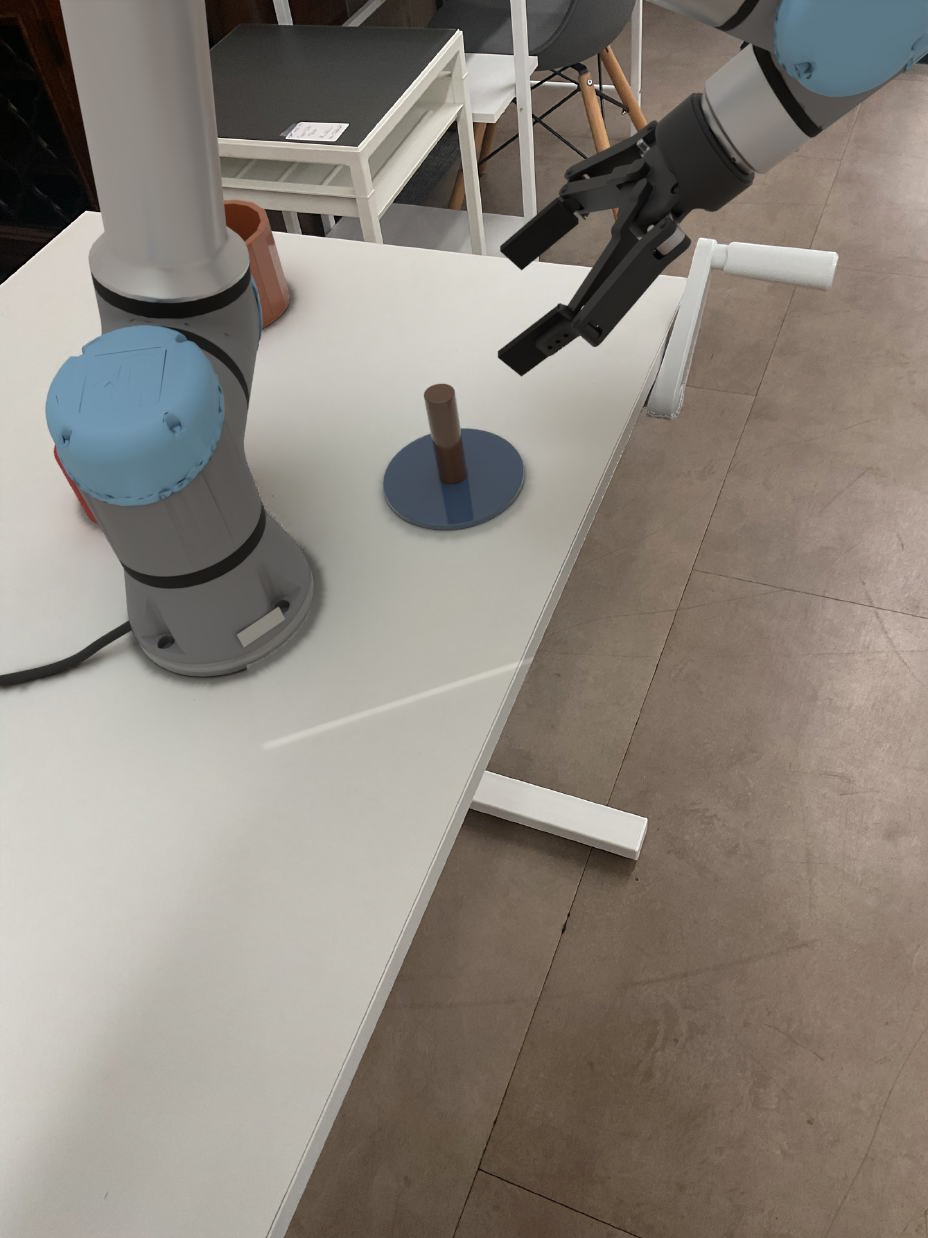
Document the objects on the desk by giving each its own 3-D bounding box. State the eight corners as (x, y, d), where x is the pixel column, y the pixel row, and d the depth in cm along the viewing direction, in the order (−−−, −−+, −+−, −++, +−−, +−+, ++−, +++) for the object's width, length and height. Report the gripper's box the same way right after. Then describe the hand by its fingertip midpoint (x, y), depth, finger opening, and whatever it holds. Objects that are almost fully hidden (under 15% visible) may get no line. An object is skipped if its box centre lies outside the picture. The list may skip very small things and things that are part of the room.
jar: (195, 349, 109) (164, 270, 102) (182, 294, 116) (153, 217, 109) (298, 320, 110) (276, 240, 103) (279, 267, 118) (257, 189, 110)
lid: (405, 552, 86) (384, 462, 78) (371, 461, 94) (348, 371, 86) (544, 509, 87) (537, 416, 79) (498, 423, 95) (488, 331, 87)
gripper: (785, 277, 66) (542, 440, 78) (738, 80, 80) (539, 245, 93) (718, 202, 61) (473, 387, 74) (681, 9, 76) (481, 192, 88)
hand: (509, 308), depth 83 cm, fingers open, 13 cm apart
